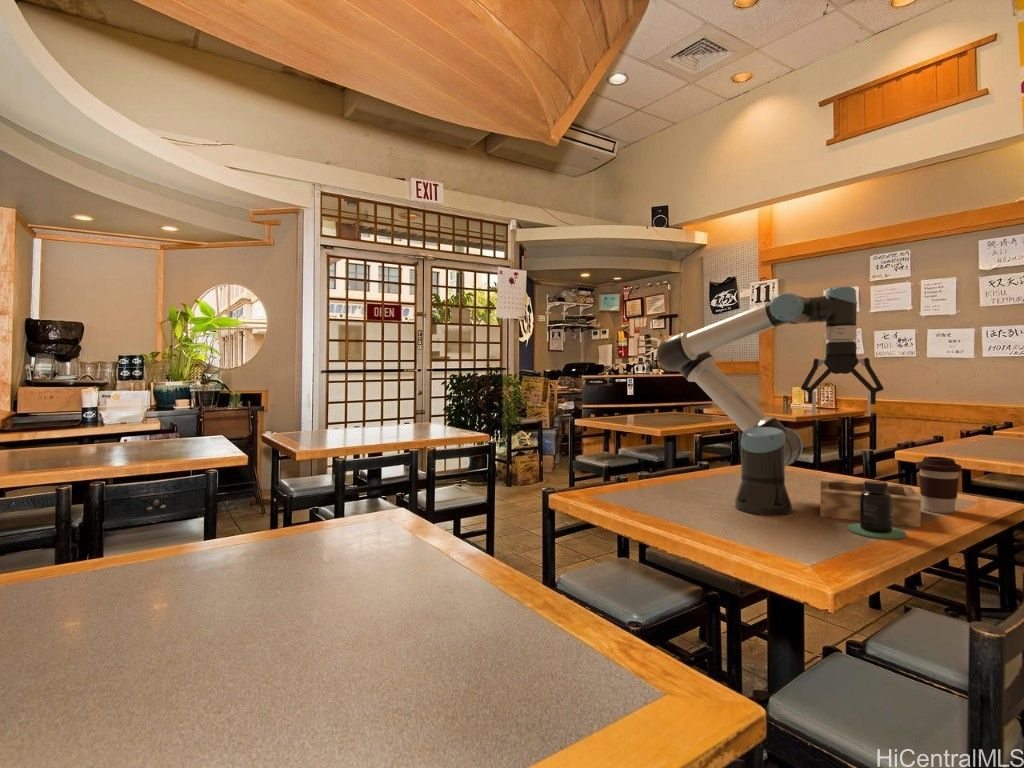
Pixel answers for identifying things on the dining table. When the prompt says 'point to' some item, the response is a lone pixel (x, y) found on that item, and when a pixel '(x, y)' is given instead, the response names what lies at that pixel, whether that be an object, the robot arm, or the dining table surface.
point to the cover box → (845, 501)
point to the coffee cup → (938, 483)
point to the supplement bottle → (876, 508)
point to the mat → (892, 535)
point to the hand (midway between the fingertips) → (840, 415)
